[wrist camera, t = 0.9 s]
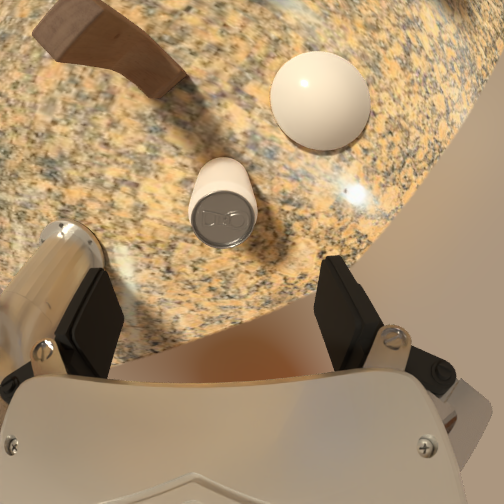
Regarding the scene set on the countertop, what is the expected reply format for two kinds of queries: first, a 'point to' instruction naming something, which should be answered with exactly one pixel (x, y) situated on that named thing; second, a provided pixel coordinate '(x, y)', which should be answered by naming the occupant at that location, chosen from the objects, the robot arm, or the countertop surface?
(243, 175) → the can
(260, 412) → the robot arm
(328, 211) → the countertop surface
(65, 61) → the wooden block
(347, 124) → the white dome
